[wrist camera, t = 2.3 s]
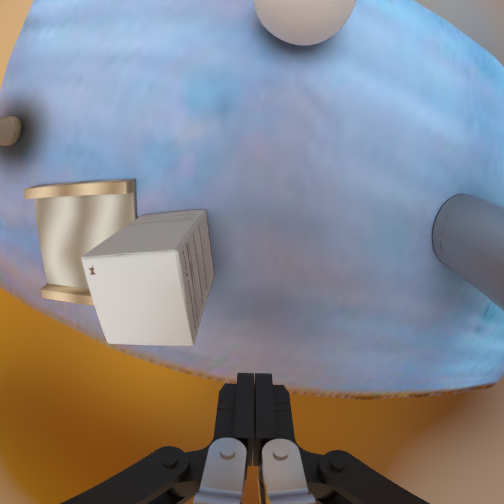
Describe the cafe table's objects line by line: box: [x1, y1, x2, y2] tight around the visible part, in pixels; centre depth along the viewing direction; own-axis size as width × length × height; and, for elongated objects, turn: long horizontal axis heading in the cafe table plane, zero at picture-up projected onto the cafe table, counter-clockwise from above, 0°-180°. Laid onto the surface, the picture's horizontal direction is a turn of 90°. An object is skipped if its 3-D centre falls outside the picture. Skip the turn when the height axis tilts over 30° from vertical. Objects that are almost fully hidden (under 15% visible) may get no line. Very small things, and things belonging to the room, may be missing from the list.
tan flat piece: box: [24, 179, 137, 306], centre depth 29 cm, size 14×14×2 cm
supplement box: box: [81, 209, 214, 346], centre depth 24 cm, size 7×7×13 cm
